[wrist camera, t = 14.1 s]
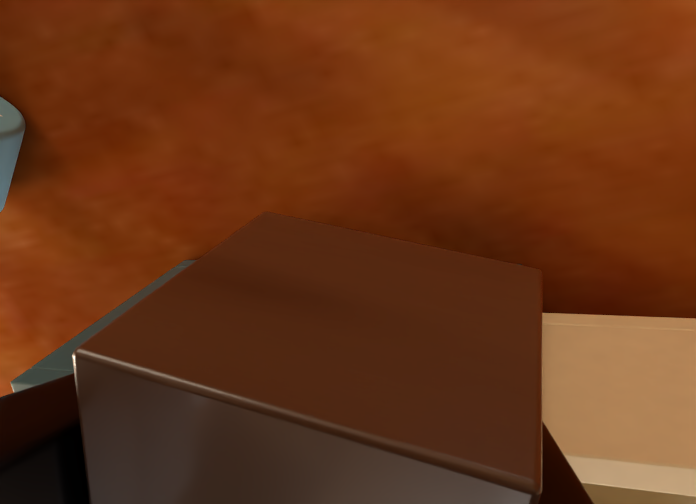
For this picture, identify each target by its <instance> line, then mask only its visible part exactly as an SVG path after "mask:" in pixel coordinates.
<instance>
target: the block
mask: <svg viewBox="0 0 696 504" xmlns="http://www.w3.org/2000/svg"><path fill="white" fill-rule="evenodd" d="M72 357H73V366H74V375H75V383H76V392H77V401H78V409H79V418H80V427H81V436H82V444H83V453H84V462H85V470H86V479H87V488H88V496H89V504H538V503H539V500H540V496H541V493H542V272H541V270H539V269H537V268H532V267H528V266H523V265H518V264H513V263H509V262H504V261H499V260H494V259H490V258H485V257H480V256H475V255H471V254H466V253H461V252H456V251H452V250H447V249H442V248H437V247H433V246H428V245H423V244H418V243H414V242H409V241H404V240H399V239H395V238H390V237H385V236H380V235H376V234H371V233H366V232H361V231H357V230H352V229H347V228H342V227H338V226H333V225H328V224H323V223H319V222H314V221H309V220H304V219H300V218H295V217H290V216H285V215H281V214H276V213H271V212H263V213H261V214H260V215H259V216H257V217H256V218H254V219H253V220H252V221H250V222H249V223H248V224H246V225H245V226H243V227H242V228H241V229H239V230H238V231H236V232H235V233H234V234H232V235H231V236H230V237H228V238H227V239H225V240H224V241H223V242H221V243H220V244H218V245H217V246H216V247H214V248H213V249H212V250H210V251H209V252H207V253H206V254H205V255H203V256H202V257H200V258H199V259H198V260H196V261H195V262H194V263H192V264H191V265H189V266H188V267H187V268H185V269H184V270H182V271H181V272H180V273H178V274H177V275H176V276H174V277H173V278H171V279H170V280H169V281H167V282H166V283H164V284H163V285H162V286H160V287H159V288H158V289H156V290H155V291H153V292H152V293H151V294H149V295H148V296H146V297H145V298H144V299H142V300H141V301H140V302H138V303H137V304H135V305H134V306H133V307H131V308H130V309H128V310H127V311H126V312H124V313H123V314H122V315H120V316H119V317H117V318H116V319H115V320H113V321H112V322H110V323H109V324H108V325H106V326H105V327H104V328H102V329H101V330H99V331H98V332H97V333H95V334H94V335H93V336H91V337H90V338H88V339H87V340H86V341H84V342H83V343H81V344H80V345H79V346H77V347H76V348H75V350H74V352H73V355H72Z"/></svg>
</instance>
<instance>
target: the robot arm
mask: <svg viewBox="0 0 696 504" xmlns="http://www.w3.org/2000/svg"><path fill="white" fill-rule="evenodd" d="M0 504H89V496H88V488H87V479H86V470H85V462H84V453H83V444H82V436H81V427H80V418H79V409H78V401H77V392H76V383H75V375H74V373H73V374H70V375H66V376H63V377H60V378H57V379H54V380H51V381H48V382H45V383H42V384H39V385H36V386H33V387H30V388H27V389H24V390H21V391H18V392H15V393H12V394H9V395H6V396H3V397H0ZM538 504H594V502H593V501H592V499H591V497H590V496H589V494H588V493H587V491H586V489H585V488H584V486H583V485H582V483H581V481H580V480H579V478H578V477H577V475H576V473H575V472H574V470H573V469H572V467H571V465H570V464H569V462H568V461H567V459H566V457H565V456H564V454H563V453H562V451H561V449H560V448H559V446H558V445H557V443H556V441H555V440H554V438H553V437H552V435H551V433H550V432H549V430H548V429H547V427H546V425H545V424H544V422H543V421H542V493H541V496H540V500H539V503H538Z"/></svg>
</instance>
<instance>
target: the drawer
mask: <svg viewBox="0 0 696 504" xmlns="http://www.w3.org/2000/svg"><path fill="white" fill-rule="evenodd" d="M542 421H543V422H544V424H545V425H546V427H547V429H548V430H549V432H550V433H551V435H552V437H553V438H554V440H555V441H556V443H557V445H558V446H559V448H560V449H561V451H562V453H563V454H564V456H565V457H566V459H567V461H568V462H569V464H570V465H571V467H572V469H573V470H574V472H575V473H576V475H577V477H578V478H579V480H580V481H581V483H582V485H583V486H584V488H585V489H586V491H587V493H588V494H589V496H590V497H591V499H592V501H593V502H594V504H696V318H669V317H642V316H615V315H588V314H561V313H542Z"/></svg>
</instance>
